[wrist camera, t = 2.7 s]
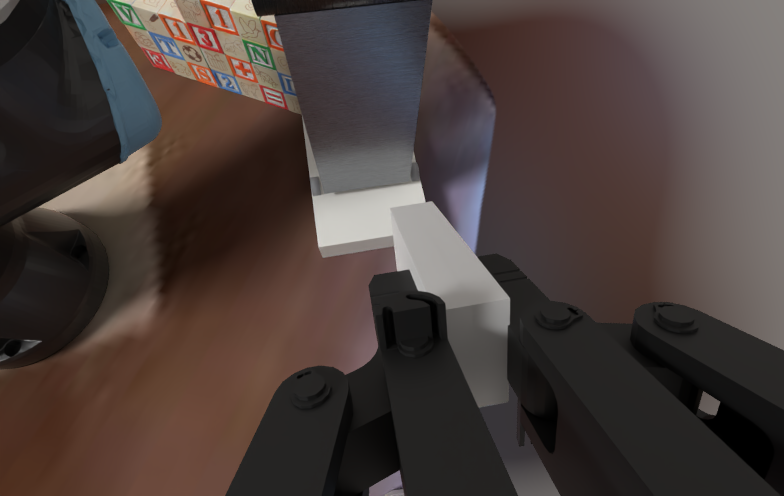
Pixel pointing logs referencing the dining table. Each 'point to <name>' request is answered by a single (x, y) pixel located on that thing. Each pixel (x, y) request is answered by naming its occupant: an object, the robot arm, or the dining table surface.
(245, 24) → the stack of blocks
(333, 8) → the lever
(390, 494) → the white cup
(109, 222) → the dining table surface
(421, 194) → the white slotted base
